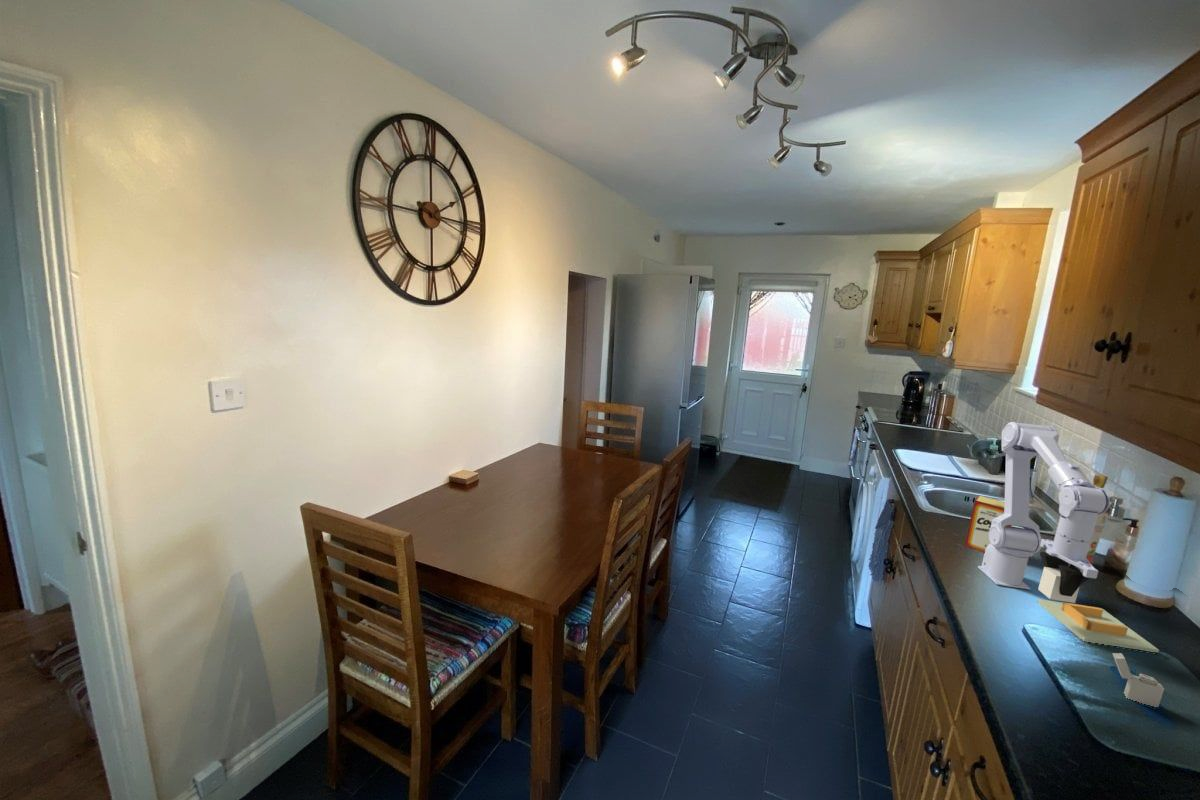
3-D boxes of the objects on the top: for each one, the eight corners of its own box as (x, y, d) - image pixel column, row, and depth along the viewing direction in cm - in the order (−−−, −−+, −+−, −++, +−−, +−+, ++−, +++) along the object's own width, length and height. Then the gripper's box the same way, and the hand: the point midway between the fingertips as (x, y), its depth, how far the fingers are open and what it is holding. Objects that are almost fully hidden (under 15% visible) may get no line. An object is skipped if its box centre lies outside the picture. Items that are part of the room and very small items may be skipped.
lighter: (1154, 703, 89) (1166, 666, 88) (1158, 709, 88) (1170, 672, 86) (1101, 685, 93) (1112, 650, 92) (1104, 690, 92) (1115, 655, 90)
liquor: (1076, 556, 147) (1099, 472, 142) (1101, 569, 140) (1127, 480, 135) (1053, 555, 147) (1076, 470, 141) (1077, 568, 140) (1102, 479, 134)
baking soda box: (964, 546, 150) (975, 499, 147) (968, 540, 154) (979, 494, 151) (1002, 558, 143) (1014, 509, 140) (1005, 552, 147) (1017, 504, 144)
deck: (1037, 602, 121) (1040, 591, 120) (1101, 612, 118) (1104, 601, 118) (1083, 641, 106) (1087, 630, 106) (1157, 653, 104) (1161, 642, 103)
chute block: (1038, 589, 114) (1044, 566, 112) (1062, 593, 113) (1068, 570, 111) (1049, 599, 110) (1056, 575, 108) (1075, 602, 109) (1081, 579, 108)
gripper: (1031, 520, 116) (1019, 570, 119) (1076, 548, 102) (1061, 604, 105) (1065, 524, 114) (1051, 575, 117) (1115, 553, 101) (1098, 610, 103)
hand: (1058, 589), depth 111 cm, fingers closed on chute block, 4 cm apart
